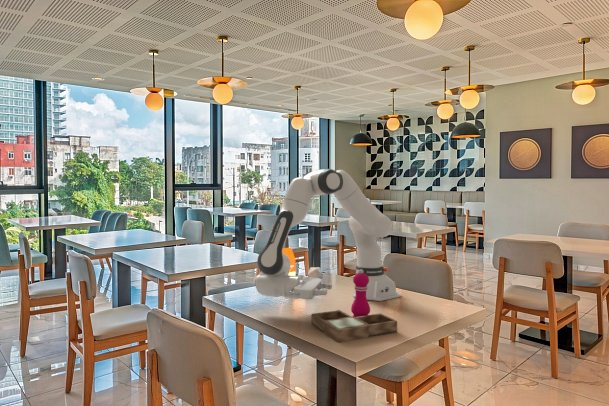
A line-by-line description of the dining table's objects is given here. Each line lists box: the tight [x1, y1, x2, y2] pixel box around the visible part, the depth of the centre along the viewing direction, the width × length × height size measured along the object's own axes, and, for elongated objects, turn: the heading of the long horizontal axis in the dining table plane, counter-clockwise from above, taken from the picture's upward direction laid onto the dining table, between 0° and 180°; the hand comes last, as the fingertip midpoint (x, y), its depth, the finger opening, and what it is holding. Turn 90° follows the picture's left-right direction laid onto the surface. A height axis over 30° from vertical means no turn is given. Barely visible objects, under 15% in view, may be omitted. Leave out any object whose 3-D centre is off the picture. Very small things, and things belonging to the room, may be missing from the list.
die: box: [307, 266, 324, 280], centre depth 232 cm, size 8×9×10 cm
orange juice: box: [283, 247, 297, 276], centre depth 218 cm, size 8×9×20 cm
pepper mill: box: [350, 269, 371, 317], centre depth 168 cm, size 7×7×20 cm
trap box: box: [310, 309, 398, 343], centre depth 160 cm, size 24×20×4 cm
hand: (329, 289), depth 171 cm, fingers open, 8 cm apart
